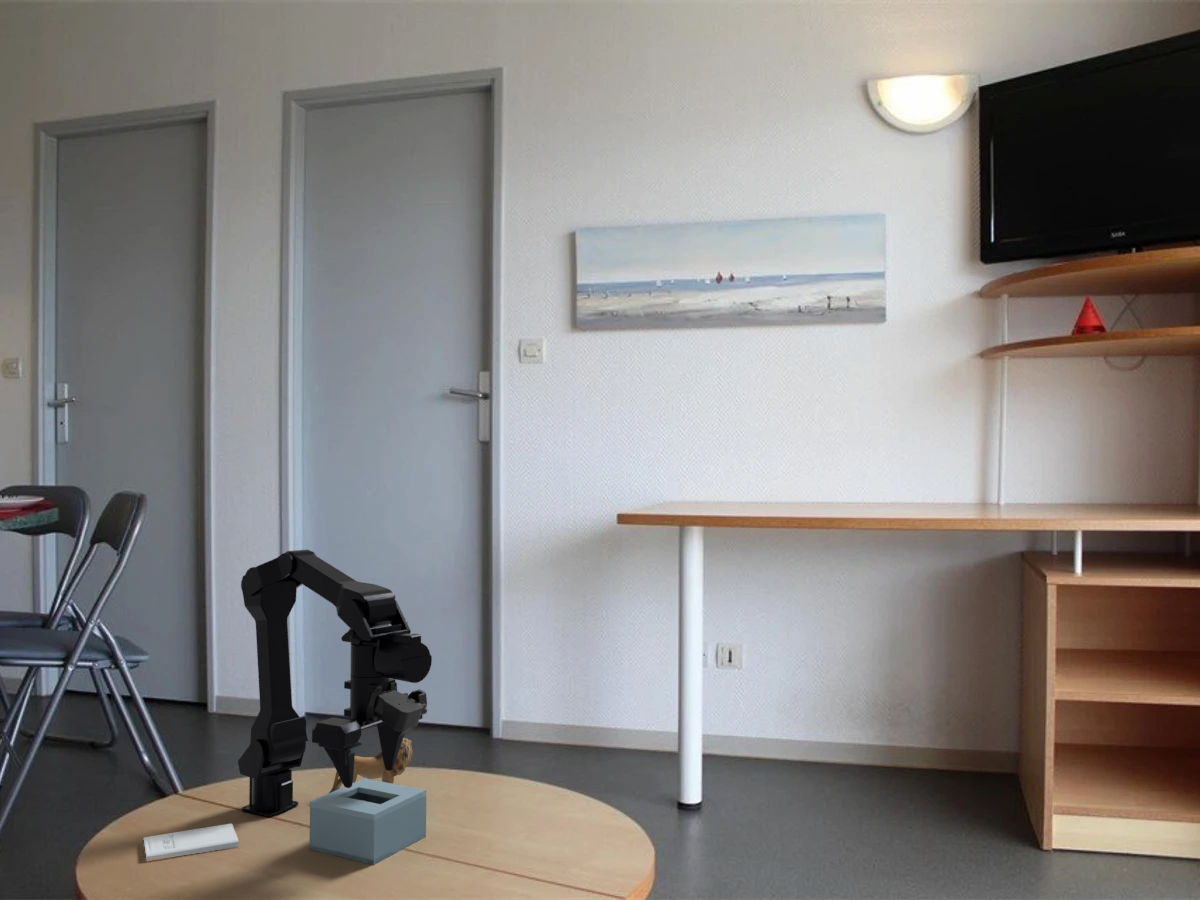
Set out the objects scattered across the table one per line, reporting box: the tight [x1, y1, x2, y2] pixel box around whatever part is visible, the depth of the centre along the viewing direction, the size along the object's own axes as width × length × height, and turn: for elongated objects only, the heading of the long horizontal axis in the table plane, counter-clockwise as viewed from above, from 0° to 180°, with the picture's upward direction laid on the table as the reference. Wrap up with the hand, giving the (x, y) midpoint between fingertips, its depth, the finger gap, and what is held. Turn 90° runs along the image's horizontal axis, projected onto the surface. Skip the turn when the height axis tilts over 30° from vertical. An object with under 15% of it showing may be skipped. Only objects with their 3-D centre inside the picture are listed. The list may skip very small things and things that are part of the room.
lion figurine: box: [328, 737, 413, 793], centre depth 169 cm, size 15×5×9 cm, turn 116°
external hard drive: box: [142, 823, 240, 860], centre depth 146 cm, size 2×8×12 cm
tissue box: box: [309, 777, 427, 865], centre depth 147 cm, size 12×12×7 cm
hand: (369, 778), depth 147 cm, fingers open, 9 cm apart
